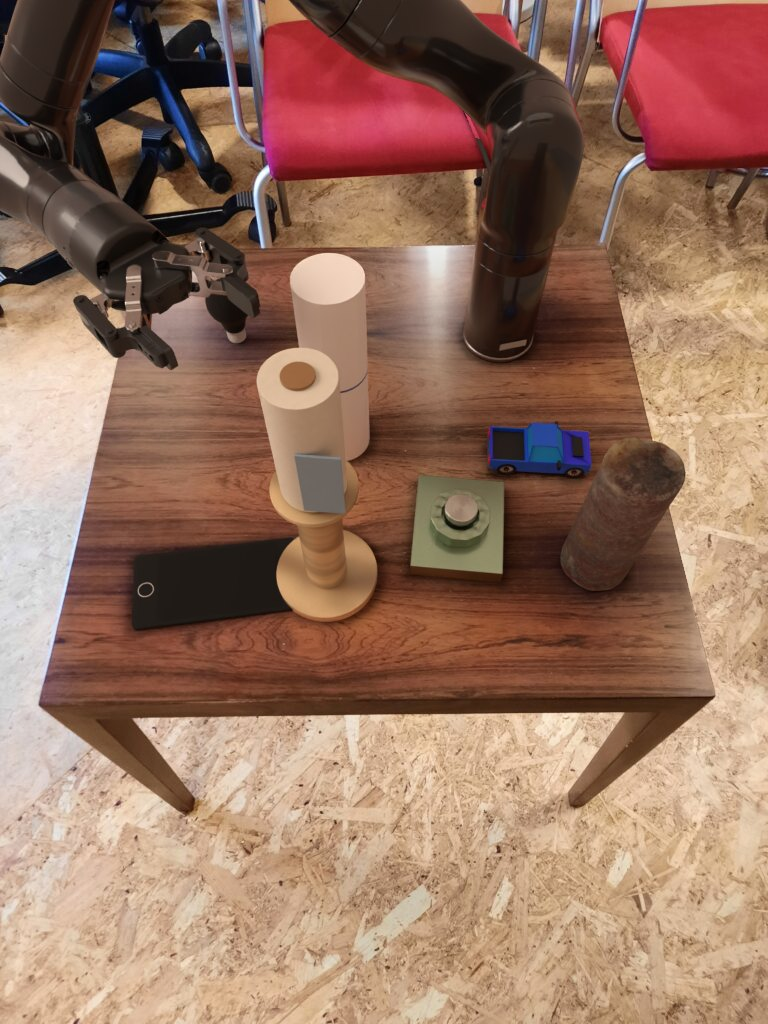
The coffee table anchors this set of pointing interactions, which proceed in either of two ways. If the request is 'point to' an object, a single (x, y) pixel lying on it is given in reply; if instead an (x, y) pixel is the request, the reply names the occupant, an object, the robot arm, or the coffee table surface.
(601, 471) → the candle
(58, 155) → the robot arm
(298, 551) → the towel holder
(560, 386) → the coffee table surface
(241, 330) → the light bulb
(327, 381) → the towel roll
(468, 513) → the button
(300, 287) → the cylindrical container
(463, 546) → the button box
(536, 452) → the toy car
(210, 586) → the cell phone
